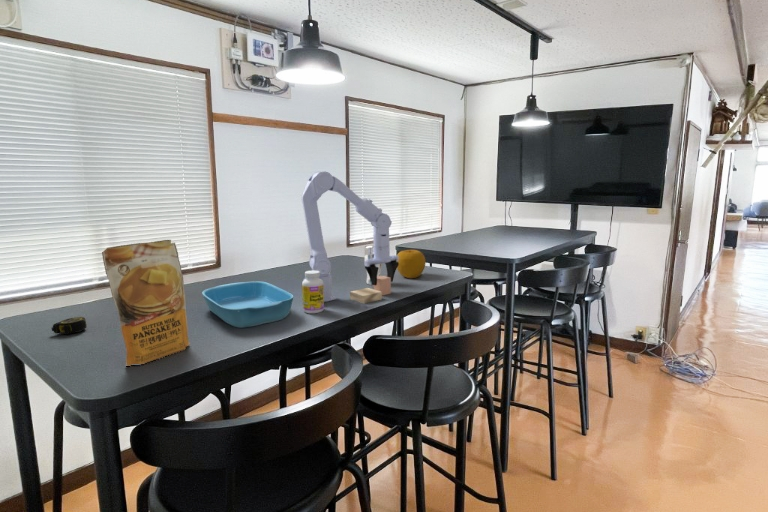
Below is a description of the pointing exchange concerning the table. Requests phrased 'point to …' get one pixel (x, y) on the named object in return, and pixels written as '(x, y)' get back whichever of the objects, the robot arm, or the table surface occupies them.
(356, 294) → the oak base
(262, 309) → the casserole dish
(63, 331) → the tape measure
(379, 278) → the clay block
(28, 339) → the table surface
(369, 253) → the beer glass
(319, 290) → the supplement bottle
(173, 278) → the pancake mix bag
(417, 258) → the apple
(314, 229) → the robot arm
